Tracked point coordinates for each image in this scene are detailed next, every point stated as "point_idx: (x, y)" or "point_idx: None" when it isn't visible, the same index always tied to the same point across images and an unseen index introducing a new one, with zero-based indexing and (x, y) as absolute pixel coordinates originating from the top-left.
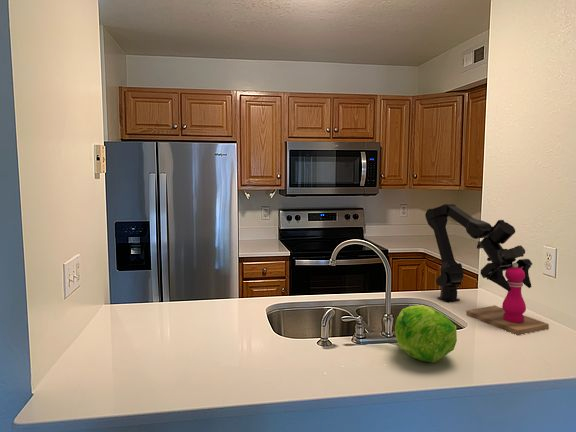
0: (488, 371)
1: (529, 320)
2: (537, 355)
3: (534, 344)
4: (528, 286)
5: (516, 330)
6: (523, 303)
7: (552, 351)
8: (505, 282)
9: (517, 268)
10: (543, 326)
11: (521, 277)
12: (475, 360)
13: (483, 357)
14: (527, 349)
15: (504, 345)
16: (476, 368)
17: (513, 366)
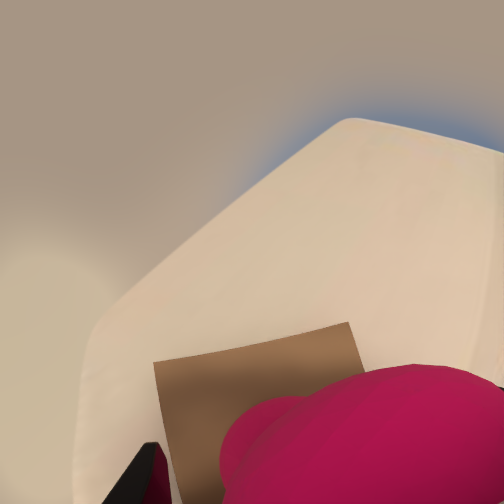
0: (475, 168)
1: (205, 428)
2: (364, 188)
3: (330, 246)
4: (164, 469)
5: (349, 329)
6: (266, 409)
7: (308, 196)
8: (500, 387)
9: (482, 467)
10: (189, 357)
11: (373, 370)
12: (492, 206)
13: (479, 212)
14: (371, 221)
15: (422, 258)
16: (491, 181)
17: (434, 166)
